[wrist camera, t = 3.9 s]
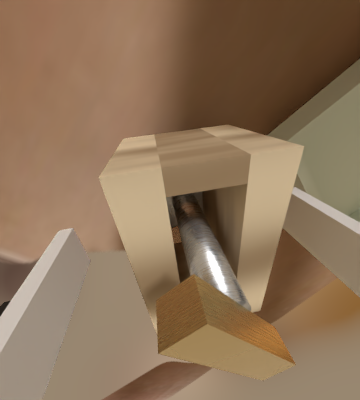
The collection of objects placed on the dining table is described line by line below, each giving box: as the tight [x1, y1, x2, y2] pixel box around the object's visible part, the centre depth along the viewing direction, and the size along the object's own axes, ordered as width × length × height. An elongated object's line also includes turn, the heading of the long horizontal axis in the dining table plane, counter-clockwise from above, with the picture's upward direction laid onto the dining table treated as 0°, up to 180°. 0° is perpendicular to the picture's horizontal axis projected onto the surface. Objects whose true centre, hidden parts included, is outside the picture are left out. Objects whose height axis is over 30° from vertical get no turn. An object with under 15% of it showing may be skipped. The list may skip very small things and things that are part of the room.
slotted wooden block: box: [99, 125, 304, 334], centre depth 11 cm, size 12×6×6 cm, turn 6°
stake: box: [156, 191, 296, 380], centre depth 11 cm, size 6×4×13 cm
